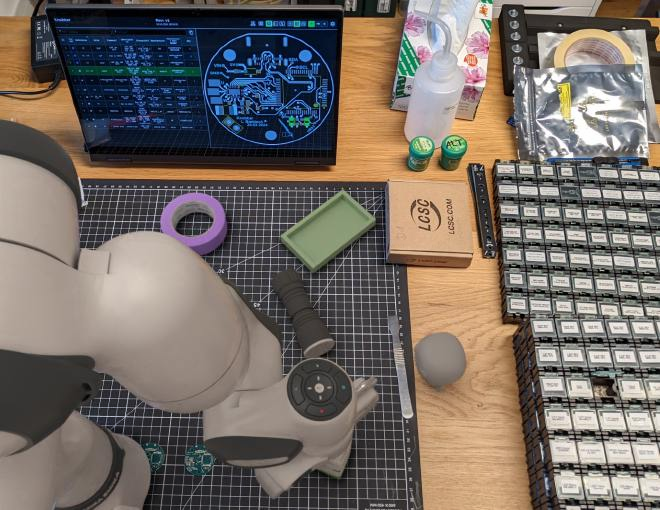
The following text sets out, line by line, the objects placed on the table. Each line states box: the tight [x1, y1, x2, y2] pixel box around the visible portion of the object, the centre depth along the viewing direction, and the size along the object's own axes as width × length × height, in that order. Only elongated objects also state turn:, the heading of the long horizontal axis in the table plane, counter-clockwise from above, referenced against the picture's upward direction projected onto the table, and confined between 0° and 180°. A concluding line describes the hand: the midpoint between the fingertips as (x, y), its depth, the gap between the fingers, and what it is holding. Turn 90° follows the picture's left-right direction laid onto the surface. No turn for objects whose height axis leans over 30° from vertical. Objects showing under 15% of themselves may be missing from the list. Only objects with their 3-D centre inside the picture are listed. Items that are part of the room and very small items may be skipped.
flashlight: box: [271, 268, 336, 359], centre depth 105 cm, size 15×5×5 cm, turn 25°
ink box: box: [316, 438, 353, 480], centre depth 91 cm, size 9×5×12 cm, turn 66°
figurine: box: [413, 331, 467, 394], centre depth 97 cm, size 8×8×12 cm
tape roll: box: [159, 192, 228, 257], centre depth 114 cm, size 12×12×4 cm
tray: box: [280, 189, 377, 274], centre depth 115 cm, size 16×9×2 cm, turn 132°
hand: (319, 448), depth 92 cm, fingers closed on ink box, 6 cm apart
